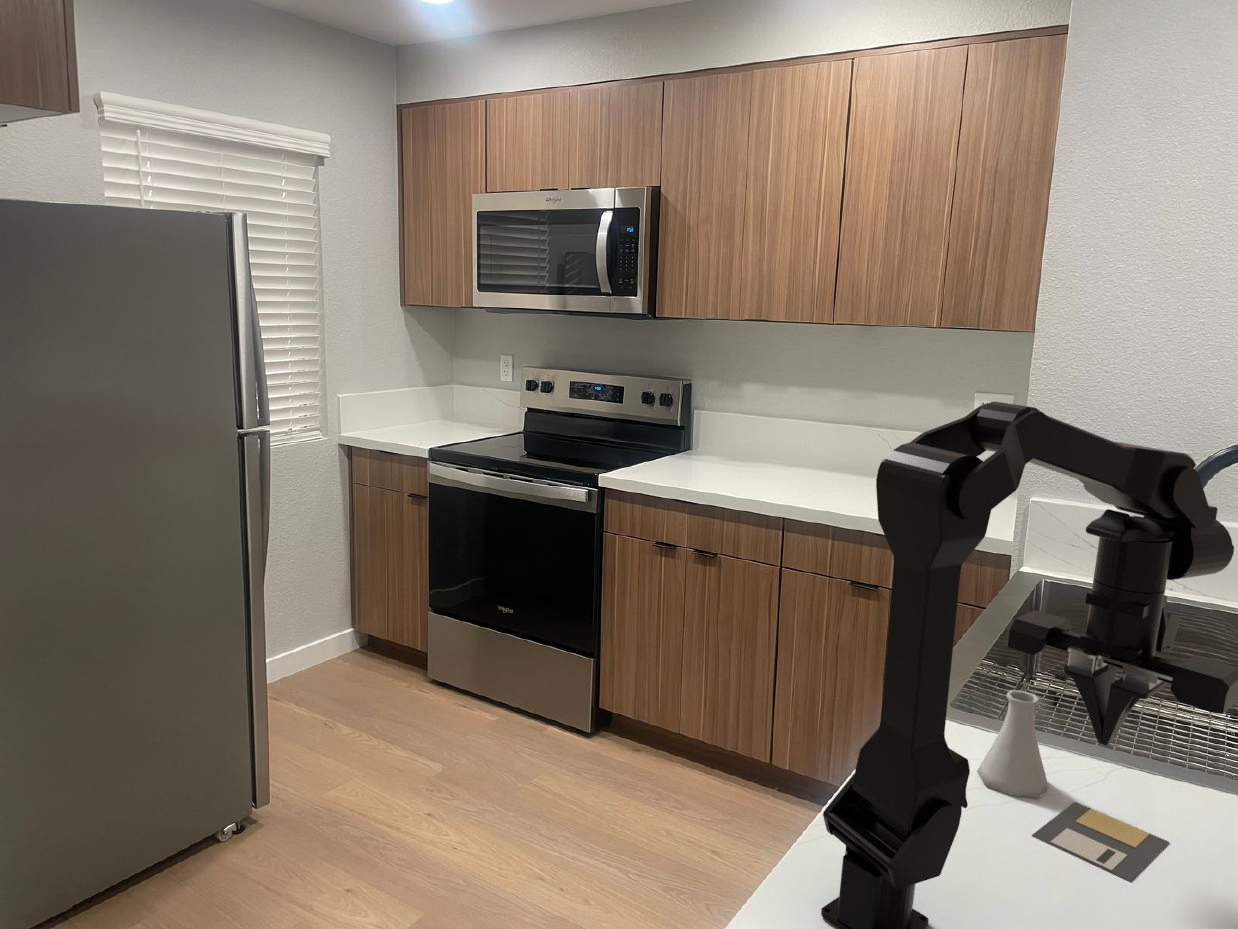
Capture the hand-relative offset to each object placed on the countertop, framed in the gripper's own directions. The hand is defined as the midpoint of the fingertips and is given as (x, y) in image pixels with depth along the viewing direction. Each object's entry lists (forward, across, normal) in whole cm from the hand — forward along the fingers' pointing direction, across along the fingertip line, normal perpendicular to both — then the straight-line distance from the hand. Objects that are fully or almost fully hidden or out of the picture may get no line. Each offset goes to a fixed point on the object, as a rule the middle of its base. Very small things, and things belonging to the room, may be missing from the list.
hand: (1104, 743), depth 85 cm
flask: (+11, +11, -7) cm, 17 cm away
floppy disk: (+11, 0, -3) cm, 11 cm away
